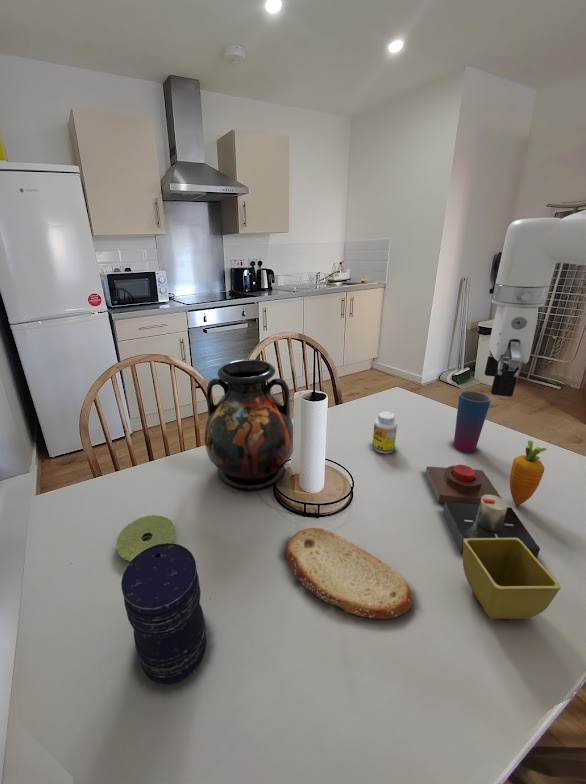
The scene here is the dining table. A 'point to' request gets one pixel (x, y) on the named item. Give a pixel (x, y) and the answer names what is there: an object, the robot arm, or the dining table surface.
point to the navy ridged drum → (165, 612)
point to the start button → (464, 473)
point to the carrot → (526, 474)
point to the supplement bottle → (384, 432)
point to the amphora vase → (249, 426)
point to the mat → (144, 535)
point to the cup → (470, 419)
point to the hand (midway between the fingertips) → (497, 384)
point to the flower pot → (507, 578)
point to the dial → (491, 512)
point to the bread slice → (347, 575)
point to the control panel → (466, 526)
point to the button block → (458, 486)
